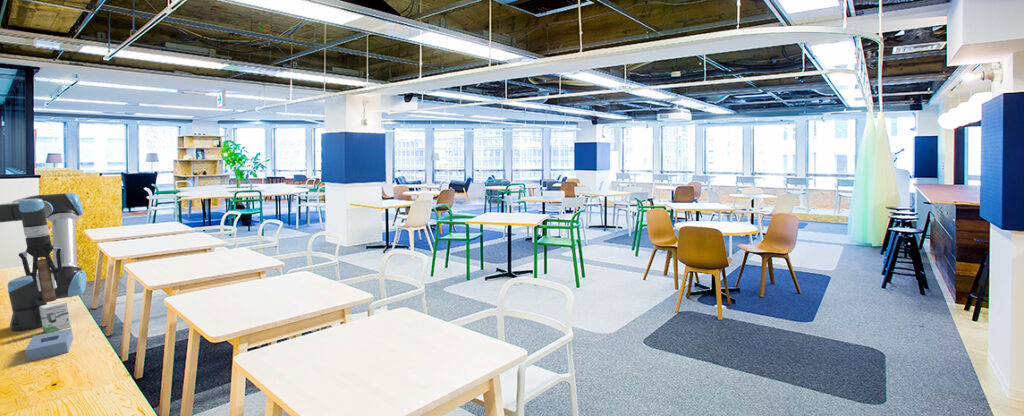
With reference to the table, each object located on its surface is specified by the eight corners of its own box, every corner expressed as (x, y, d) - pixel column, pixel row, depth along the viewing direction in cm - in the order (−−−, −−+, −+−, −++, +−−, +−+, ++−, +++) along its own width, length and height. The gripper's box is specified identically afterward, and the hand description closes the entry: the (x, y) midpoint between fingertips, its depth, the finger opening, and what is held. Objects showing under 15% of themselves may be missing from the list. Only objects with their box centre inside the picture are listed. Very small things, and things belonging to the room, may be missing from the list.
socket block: (34, 346, 206) (32, 336, 206) (73, 338, 213) (71, 328, 212) (26, 361, 192) (24, 350, 191) (68, 352, 199) (66, 341, 198)
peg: (44, 300, 214) (36, 259, 211) (57, 298, 217) (49, 258, 214) (43, 302, 211) (34, 261, 208) (55, 300, 213) (47, 259, 211)
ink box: (46, 333, 220) (41, 308, 218) (43, 331, 223) (38, 306, 221) (71, 327, 227) (67, 302, 226) (67, 325, 230) (63, 300, 228)
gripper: (7, 240, 201) (18, 295, 205) (63, 233, 211) (73, 286, 215) (11, 237, 207) (22, 291, 211) (65, 231, 217) (74, 282, 221)
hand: (47, 288), depth 213 cm, fingers closed on peg, 4 cm apart
